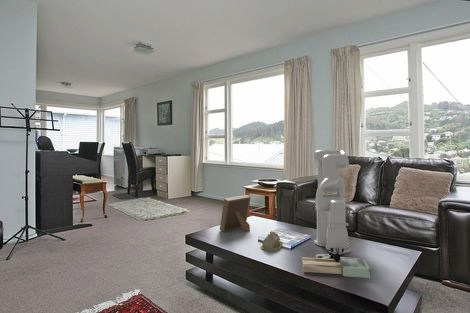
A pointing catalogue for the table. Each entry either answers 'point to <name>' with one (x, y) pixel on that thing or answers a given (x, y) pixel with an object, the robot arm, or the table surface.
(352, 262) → the chip
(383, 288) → the table surface
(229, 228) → the photo frame
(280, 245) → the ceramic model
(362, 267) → the tray
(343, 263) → the chip
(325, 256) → the adjustable wrench
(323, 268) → the slot rail
